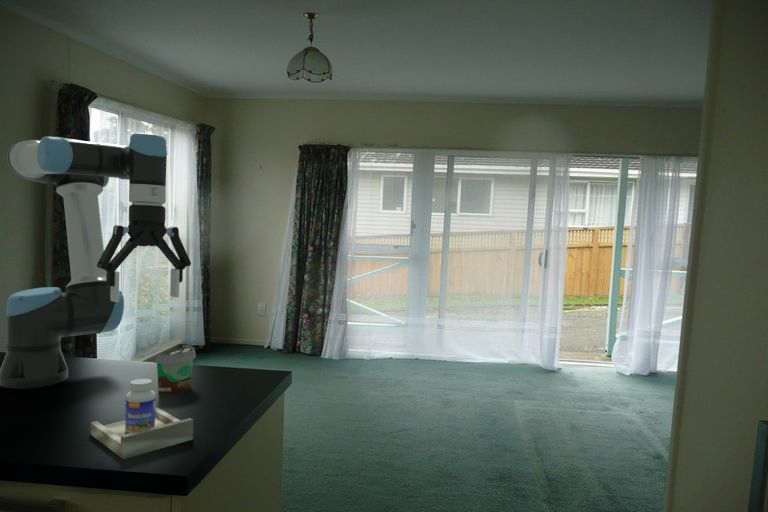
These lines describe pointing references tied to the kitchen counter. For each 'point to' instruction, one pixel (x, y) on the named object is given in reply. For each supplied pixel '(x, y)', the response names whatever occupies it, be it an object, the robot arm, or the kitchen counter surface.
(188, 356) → the food container
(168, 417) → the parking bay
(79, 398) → the kitchen counter surface
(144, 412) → the pill bottle
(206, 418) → the kitchen counter surface
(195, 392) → the kitchen counter surface
